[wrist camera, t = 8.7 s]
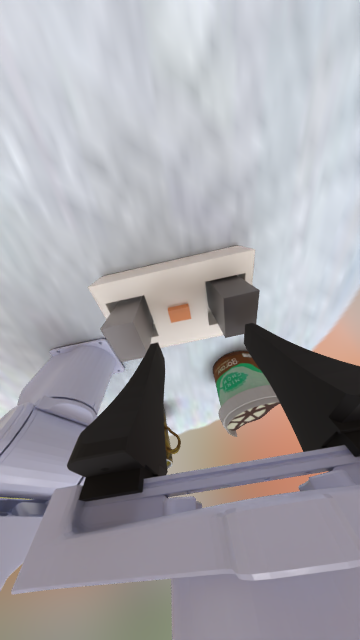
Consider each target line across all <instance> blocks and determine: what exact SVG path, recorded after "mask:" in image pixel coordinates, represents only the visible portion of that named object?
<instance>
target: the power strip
mask: <svg viewBox="0 0 360 640" xmlns="http://www.w3.org/2000/svg"><path fill="white" fill-rule="evenodd" d="M254 256H255V249H251V248H247V247H243V246H238V245H237V246H233V247H228V248H224V249H220V250H215V251H211V252H206V253H202V254H198V255H193V256H189V257H185V258H180V259H176V260H171V261H167V262H163V263H158V264H154V265H150V266H145V267H141V268H136V269H132V270H128V271H123V272H119V273H115V274H110V275H106V276H102V277H101V278H99V279H98V280H97V281H95V282H94V283H93V284H91V285H90V286H89V287H88V289H89V290H90V292H91V294H92V296H93V297H94V299H95V301H96V302H97V304H98V306H99V308H100V309H101V311H102V313H103V315H104V316H105V318H106V320H107V318H108V317H109V315H110V314H111V312H112V311H113V309H114V307H115V306H116V304H117V303H118V301H120V300H125V299H129V298H134V297H138V296H143V295H144V296H145V299H146V302H147V304H148V307H149V310H150V313H151V315H152V318H153V321H154V322H153V330H152V337H151V344H152V343H157V342H158V343H159V346H160V348H163V347H168V346H173V345H178V344H183V343H187V342H192V341H197V340H202V339H207V338H212V337H217V336H222V335H224V334H223V333H222V331H221V329H220V327H219V325H218V323H217V321H216V320H215V318H214V316H213V314H212V312H211V310H210V308H209V307H208V300H207V291H206V281H211V280H215V279H220V278H224V277H229V276H234V275H237V276H239V277H240V278H242V279H243V280H245V281H246V282H248V283H249V284H251V285H252V280H253V268H254Z"/></svg>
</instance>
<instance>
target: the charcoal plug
mask: <svg viewBox="0 0 360 640" xmlns="http://www.w3.org/2000/svg"><path fill="white" fill-rule="evenodd" d="M153 322H154V321H153V318H152V315H151V313H150V310H149V307H148V304H147V302H146V299H145V296H144V295H143V296H138V297H134V298H129V299H125V300H120V301H118V303H117V304H116V306H115V307H114V309H113V311H112V312H111V314H110V315H109V317H108V318H107V320H106V321H105V323H104V324H103V326H102V327H101V329H100V330H101V331H102V333H103V334H104V336H105V337H106V339H107V341H108V342H109V344H110V345H111V347H112V349H113V350H114V352H115V353H116V355H117V356H118V358H119V360H120V361H121V362H124V361H129V360H134V359H139V358H144V356H145V354H146V352H147V350H148V348H149V346H150V344H151V337H152V330H153Z"/></svg>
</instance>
